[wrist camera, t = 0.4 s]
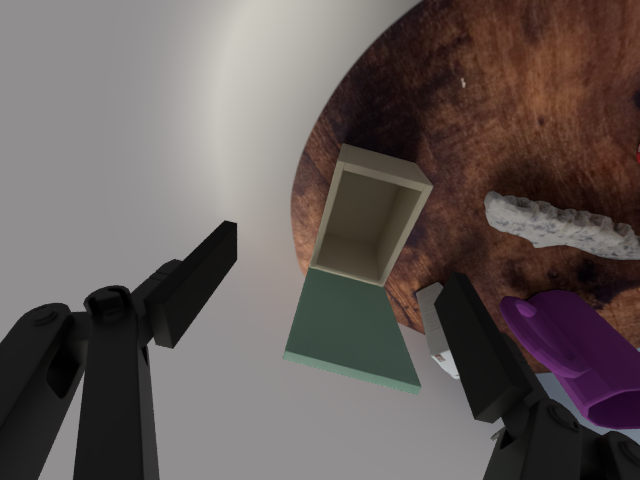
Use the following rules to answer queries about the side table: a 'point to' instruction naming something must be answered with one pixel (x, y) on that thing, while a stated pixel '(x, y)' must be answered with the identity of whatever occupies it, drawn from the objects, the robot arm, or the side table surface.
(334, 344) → the lid
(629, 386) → the mug
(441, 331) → the cosmetic box
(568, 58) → the side table surface
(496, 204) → the fossil
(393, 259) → the lidded tan box
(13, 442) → the robot arm
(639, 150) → the soda can
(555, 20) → the side table surface
